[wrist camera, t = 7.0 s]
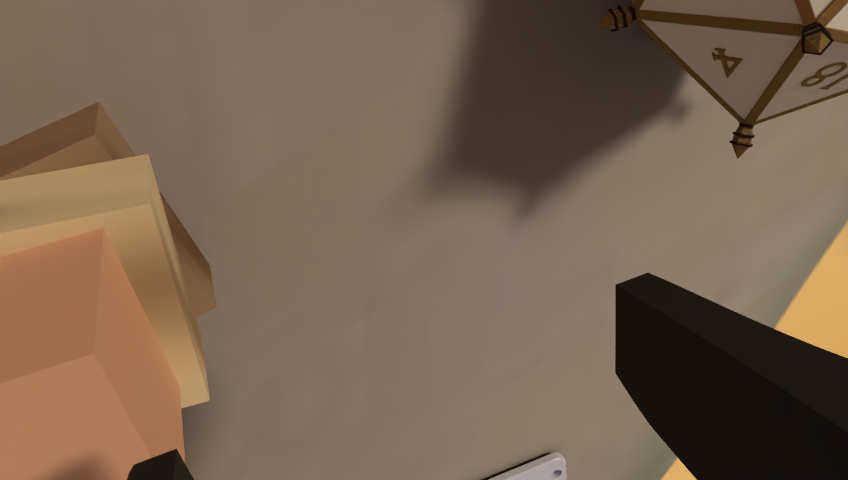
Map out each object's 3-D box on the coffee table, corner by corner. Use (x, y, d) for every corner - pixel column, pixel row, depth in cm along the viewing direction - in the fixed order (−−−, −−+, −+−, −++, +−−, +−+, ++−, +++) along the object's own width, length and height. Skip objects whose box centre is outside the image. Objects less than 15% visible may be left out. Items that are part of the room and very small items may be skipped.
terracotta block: (179, 385, 16) (190, 526, 13) (-25, 454, 15) (-68, 624, 12) (103, 227, 14) (93, 353, 11) (-146, 298, 13) (-240, 459, 10)
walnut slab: (208, 258, 20) (216, 306, 18) (32, 343, 20) (21, 403, 18) (99, 96, 17) (94, 134, 15) (-114, 193, 17) (-148, 246, 15)
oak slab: (201, 338, 19) (210, 400, 17) (-23, 394, 17) (-43, 469, 15) (148, 154, 16) (149, 203, 14) (-127, 203, 14) (-170, 266, 12)
